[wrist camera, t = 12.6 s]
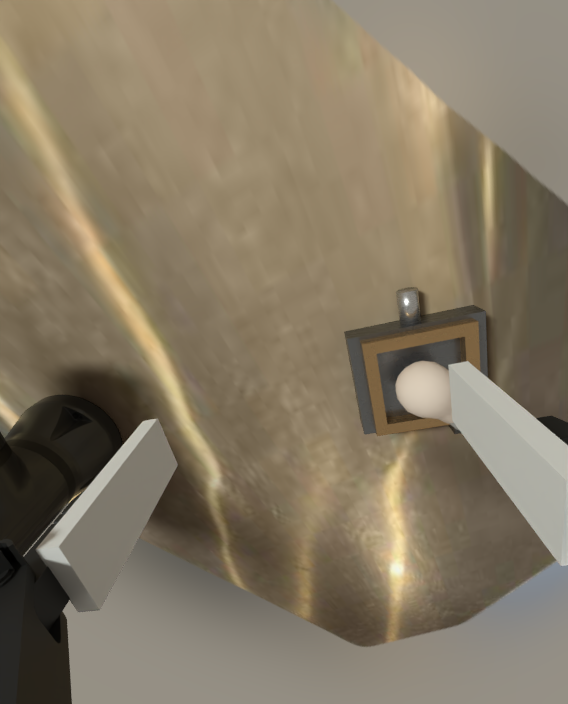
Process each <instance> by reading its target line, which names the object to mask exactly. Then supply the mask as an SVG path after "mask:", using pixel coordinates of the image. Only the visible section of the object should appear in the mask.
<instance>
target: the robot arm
mask: <svg viewBox="0 0 568 704" xmlns="http://www.w3.org/2000/svg"><path fill="white" fill-rule="evenodd" d="M448 367H449V380H450V393H451V407H452V420H453V422H454V424H455V425H456V426H457V428H458V429H459V430H460V432H461V433H462V434H463V436H464V437H465V438H466V440H467V441H468V442H469V444H470V445H471V446H472V448H473V449H474V450H475V452H476V453H477V454H478V456H479V457H480V458H481V460H482V461H483V462H484V464H485V465H486V466H487V468H488V469H489V470H490V472H491V473H492V474H493V476H494V477H495V478H496V480H497V481H498V483H499V484H500V485H501V487H502V488H503V489H504V491H505V492H506V493H507V495H508V496H509V497H510V499H511V500H512V501H513V503H514V504H515V505H516V507H517V508H518V509H519V511H520V512H521V513H522V515H523V516H524V517H525V519H526V520H527V521H528V523H529V524H530V525H531V527H532V528H533V529H534V531H535V532H536V533H537V535H538V536H539V537H540V539H541V540H542V541H543V543H544V544H545V545H546V547H547V548H548V550H549V551H550V552H551V554H552V555H553V556H554V558H555V559H556V560H557V562H558V563H559V564H560V566H568V423H567V422H565V421H563V420H560V419H558V418H556V417H553V416H547V417H540V418H535V417H533V416H532V415H531V414H530V413H529V412H528V411H526V410H525V409H524V408H523V407H522V406H520V405H519V404H518V403H517V402H516V401H514V400H513V399H512V398H511V397H510V396H509V395H507V394H506V393H505V392H504V391H503V390H501V389H500V388H499V387H498V386H497V385H495V384H494V383H493V382H492V381H491V380H490V379H488V378H487V377H486V376H485V375H484V374H482V373H481V372H480V371H479V370H478V369H476V368H475V367H474V366H473V365H472V364H471V363H469V362H468V361H466V362H461V363H455V364H450V365H448ZM177 466H178V464H177V462H176V459H175V457H174V455H173V452H172V450H171V448H170V445H169V443H168V441H167V438H166V436H165V434H164V431H163V429H162V427H161V424H160V422H159V420H158V418H157V419H151V420H146V421H143V422H142V423H141V424H140V425H139V426H138V428H137V429H136V430H135V431H134V432H133V434H132V435H131V436H130V437H129V438H128V440H127V441H126V442H125V443H124V444H123V446H122V441H121V437H120V434H119V431H118V429H117V427H116V426H115V424H114V422H113V421H112V420H111V419H110V417H109V416H108V415H107V414H106V413H105V412H104V411H102V410H101V409H100V408H98V407H97V406H96V405H94V404H92V403H90V402H88V401H86V400H84V399H81V398H78V397H74V396H69V395H54V396H50V397H46V398H44V399H42V400H40V401H39V402H37V403H36V404H34V405H33V406H31V407H30V408H28V409H27V410H26V411H25V412H24V413H23V414H22V415H21V417H20V418H19V420H18V421H17V422H16V424H15V425H14V426H13V428H12V429H11V430H10V432H9V433H8V435H7V436H6V437H5V439H4V437H3V435H2V434H1V432H0V704H72V701H71V700H72V699H71V683H70V665H69V648H68V631H67V619H66V617H65V615H64V613H63V612H62V611H63V609H64V607H65V605H66V604H67V603H68V601H69V600H70V601H71V603H72V604H73V605H74V607H75V608H76V610H77V611H78V612H85V611H96V610H100V609H101V607H102V605H103V603H104V602H105V600H106V598H107V596H108V594H109V592H110V590H111V589H112V587H113V585H114V583H115V581H116V579H117V577H118V575H119V574H120V572H121V570H122V568H123V566H124V564H125V563H126V561H127V559H128V557H129V555H130V553H131V551H132V550H133V547H134V546H135V544H136V542H137V540H138V538H139V537H140V535H141V533H142V531H143V529H144V527H145V525H146V523H147V522H148V520H149V518H150V516H151V514H152V512H153V510H154V509H155V507H156V505H157V503H158V501H159V499H160V497H161V496H162V494H163V492H164V490H165V488H166V486H167V484H168V483H169V481H170V479H171V477H172V475H173V473H174V471H175V470H176V468H177ZM83 490H84V491H83ZM82 491H83V492H82ZM80 492H82V493H81V494H79V493H80ZM77 494H79V495H78V496H77V497H76V498H74V499H73V500H72V501H71V502H70V503H69V505H68V506H67V507H66V508H65V509H64V511H63V512H62V514H61V515H59V516H58V518H57V519H56V520H55V521H54V524H52V525H51V526H50V527H49V528H48V529H47V530H46V532H45V533H44V534H43V535H42V536H41V538H40V539H39V540H38V541H37V542H36V543H35V544H34V546H33V547H32V548H31V549H30V550H29V552H28V553H27V554H26V555H25V556H24V557H23V555H24V554H25V552H27V550H28V549H29V548H30V547H31V546H32V544H33V543H34V542H35V541H36V540H37V539H38V537H39V536H40V535H41V534H42V533H43V532H44V530H45V529H46V528H47V527H48V526H49V525H50V523H51V522H52V521H53V520H54V519H55V518H56V516H57V515H58V514H59V513H60V512H61V511H62V509H63V508H64V507H65V506H66V504H67V503H68V502H69V501H70V500H71V499H72V498H73V497H74V496H75V495H77Z"/></svg>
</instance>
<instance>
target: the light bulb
mask: <svg viewBox="0 0 568 704" xmlns="http://www.w3.org/2000/svg"><path fill="white" fill-rule="evenodd" d="M395 386H396V394H397V399H398V400H399V402H400V403H401V404H402V406H403V407H404V408H405V409H406V410H407V412H410V413H412V414H414V415H416V416H419V417H422V418H433V419H439V420H441V421H443V422H445V423H449V424H450V425H451V426H453V427H454V428H455V429H457V430H459V429H458V428H457V426H456V425H455V424H454V422H453V420H452V407H451V393H450V380H449V370H447V369H446V368H445V367H444V366H442V365H440V364H438V363H436V362H430V361H418V362H414V363H413V364H411V365H409V366H407V367H406V368H405V369H404V370H403V371H402V372H401V373H400V374H399V376H398V378H397V381H396V384H395Z"/></svg>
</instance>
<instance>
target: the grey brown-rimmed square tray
mask: <svg viewBox="0 0 568 704" xmlns="http://www.w3.org/2000/svg"><path fill="white" fill-rule="evenodd" d="M396 294H397V302H398V310H399V318H400V320H399V321H394V322H389V323H385V324H380V325H375V326H370V327H365V328H361V329H356V330H351V331H346V332H344V333H345V338H346V344H347V349H348V354H349V360H350V365H351V370H352V376H353V381H354V386H355V392H356V397H357V402H358V408H359V413H360V419H361V423H362V427H363V431H364V434H370V433H376V434H377V436H381V435H387V434H394V433H400V432H406V431H413V430H419V429H425V428H431V427H438V426H444V425H449V427H450V428H451V429H452V431H453V432H454V434H458V433H461V432H460V430H457V429H455V428H454V427H453V426H451V425H450V424H449V423H445V422H443V421H441V420H439V419H433V418H422V417H419V416H416V415H414V414H412V413H410V412H407V410H406V409H405V408H404V407H403V406H402V404H401V403H400V402H399V400H398V399H397V394H396V386H395V384H396V381H397V378H398V376H399V374H400V373H401V372H402V371H403V370H404V369H405V368H406V367H407V366H409V365H411V364H413V363H414V362H418V361H430V362H436V363H438V364H440V365H442V366H444V367H445V368H446V369H447V370H449V367H448V365H450V364H455V363H461V362H466V361H468V362H469V363H471V364H472V365H473V366H474V367H475V368H476V369H478V370H479V371H480V372H481V373H482V374H484V375H485V376H486V377H487V378H488V369H487V337H486V311H485V310H483V309H480V308H478V307H476V306H474V305H471V306H467V307H462V308H457V309H452V310H447V311H442V312H438V313H433V314H428V315H423V316H421V315H420V305H419V296H418V288H415V287H411V288H404V289H400V290H398V291H397V292H396Z"/></svg>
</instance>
